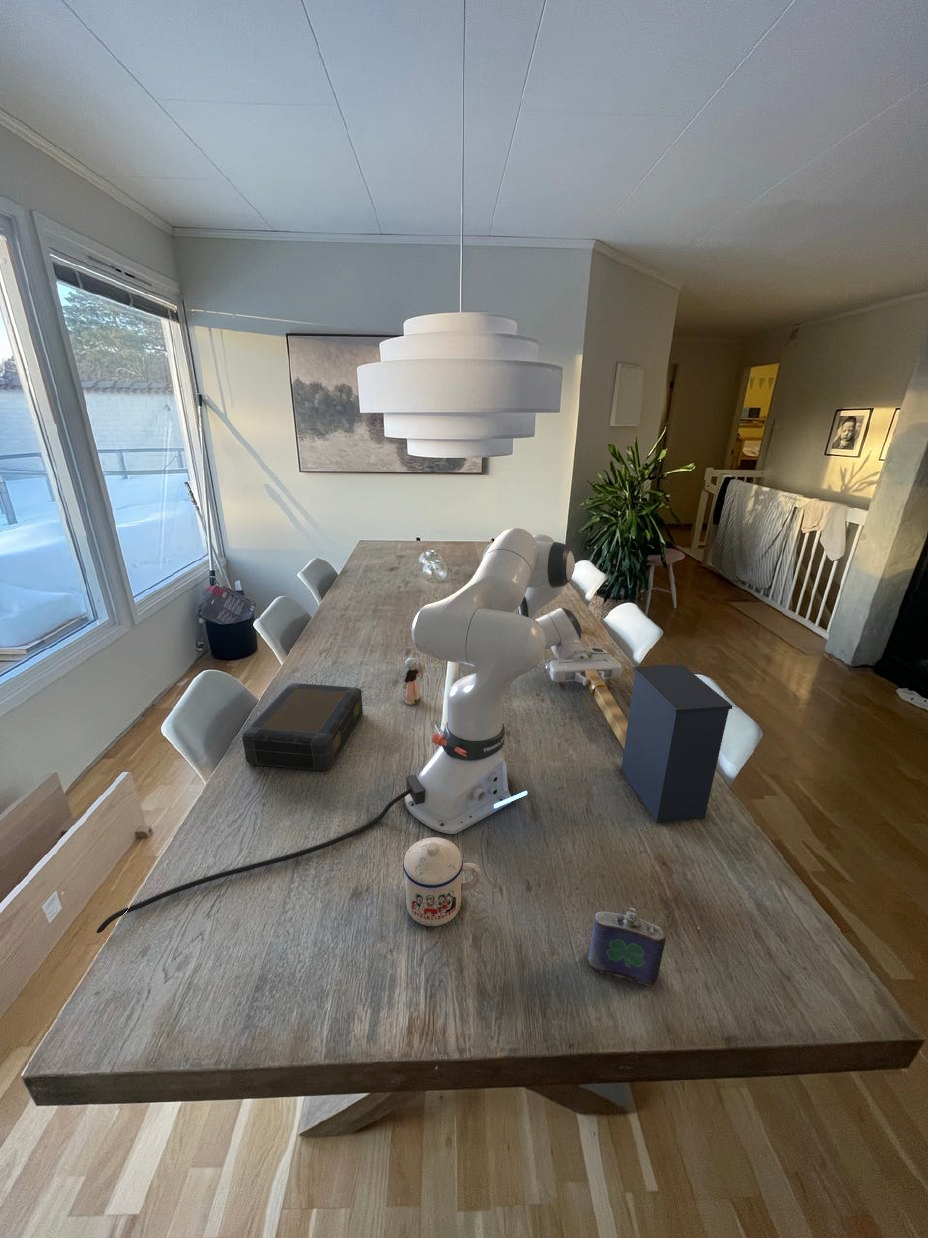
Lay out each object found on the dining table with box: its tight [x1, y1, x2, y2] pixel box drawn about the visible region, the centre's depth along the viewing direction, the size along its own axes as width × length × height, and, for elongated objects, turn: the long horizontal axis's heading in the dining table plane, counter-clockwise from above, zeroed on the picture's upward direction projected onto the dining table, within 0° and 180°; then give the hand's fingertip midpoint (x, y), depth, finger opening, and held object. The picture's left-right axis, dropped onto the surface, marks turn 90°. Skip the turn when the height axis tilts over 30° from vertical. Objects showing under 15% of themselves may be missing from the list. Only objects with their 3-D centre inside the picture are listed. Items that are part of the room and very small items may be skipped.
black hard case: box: [241, 682, 364, 772], centre depth 122 cm, size 25×20×8 cm
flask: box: [587, 906, 667, 987], centre depth 70 cm, size 9×3×11 cm, turn 72°
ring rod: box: [584, 669, 628, 750], centre depth 129 cm, size 29×4×4 cm, turn 9°
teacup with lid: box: [402, 836, 482, 927], centre depth 79 cm, size 12×9×12 cm
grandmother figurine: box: [402, 657, 421, 706], centre depth 138 cm, size 8×4×13 cm, turn 168°
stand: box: [620, 663, 733, 823], centre depth 101 cm, size 17×11×25 cm, turn 8°
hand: (595, 682), depth 138 cm, fingers closed on ring rod, 3 cm apart
